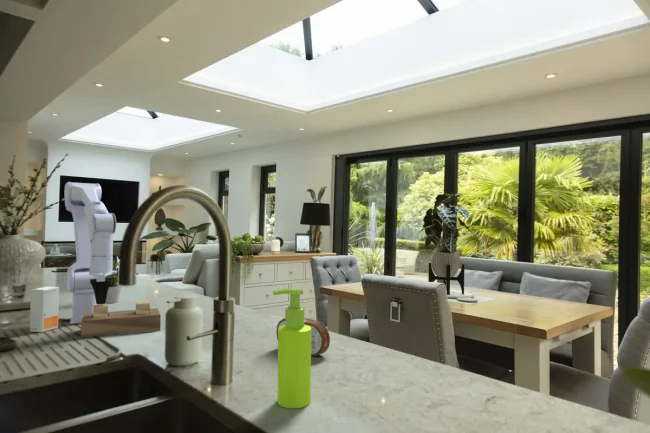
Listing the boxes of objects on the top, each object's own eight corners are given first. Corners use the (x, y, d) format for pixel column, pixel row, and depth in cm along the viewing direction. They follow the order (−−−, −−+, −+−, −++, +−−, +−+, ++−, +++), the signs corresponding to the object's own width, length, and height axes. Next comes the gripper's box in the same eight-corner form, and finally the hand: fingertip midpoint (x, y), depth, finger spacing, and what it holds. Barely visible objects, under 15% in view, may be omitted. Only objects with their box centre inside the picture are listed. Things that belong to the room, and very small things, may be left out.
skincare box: (42, 332, 123) (42, 289, 124) (29, 331, 124) (29, 289, 124) (59, 327, 129) (59, 286, 130) (46, 326, 130) (47, 286, 130)
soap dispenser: (272, 395, 81) (273, 286, 81) (309, 394, 82) (310, 286, 82) (270, 409, 75) (272, 292, 76) (311, 408, 76) (312, 292, 76)
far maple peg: (135, 315, 131) (135, 301, 131) (148, 314, 132) (148, 301, 132) (136, 317, 128) (136, 304, 128) (149, 316, 129) (149, 303, 129)
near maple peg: (93, 318, 126) (93, 304, 126) (107, 317, 128) (107, 303, 128) (93, 321, 123) (93, 306, 123) (107, 320, 124) (107, 305, 124)
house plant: (95, 298, 176) (96, 257, 176) (133, 297, 179) (133, 257, 179) (85, 305, 162) (85, 261, 162) (125, 304, 165) (126, 260, 165)
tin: (330, 357, 105) (330, 321, 105) (322, 360, 102) (323, 324, 102) (282, 346, 113) (282, 313, 113) (274, 348, 111) (274, 315, 111)
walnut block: (83, 329, 128) (83, 313, 128) (157, 322, 136) (157, 308, 136) (81, 337, 119) (81, 321, 119) (160, 330, 127) (160, 314, 127)
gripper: (117, 257, 121) (116, 307, 120) (116, 253, 134) (116, 298, 133) (88, 258, 117) (87, 309, 117) (90, 254, 130) (89, 300, 130)
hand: (100, 303), depth 125 cm, fingers closed
